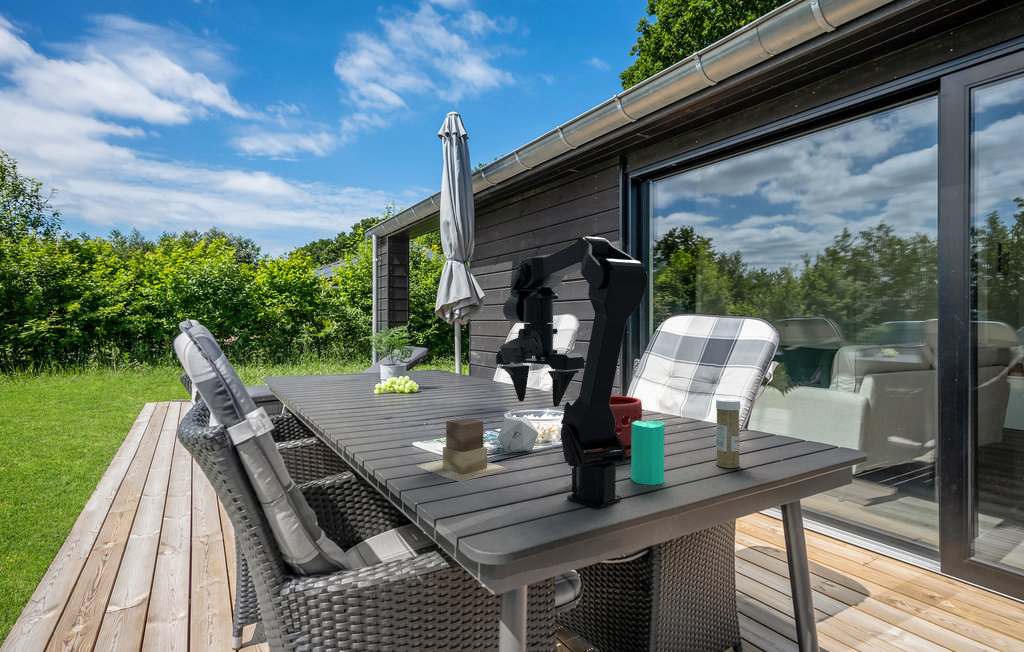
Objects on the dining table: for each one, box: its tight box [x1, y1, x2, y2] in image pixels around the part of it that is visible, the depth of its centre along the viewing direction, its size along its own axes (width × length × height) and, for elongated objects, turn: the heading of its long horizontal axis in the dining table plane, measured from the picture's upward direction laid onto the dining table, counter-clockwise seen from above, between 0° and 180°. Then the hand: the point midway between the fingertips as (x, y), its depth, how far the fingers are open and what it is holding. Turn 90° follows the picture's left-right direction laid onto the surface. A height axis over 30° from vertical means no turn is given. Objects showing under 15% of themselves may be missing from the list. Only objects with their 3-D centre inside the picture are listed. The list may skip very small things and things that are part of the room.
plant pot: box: [589, 395, 643, 458], centre depth 117 cm, size 13×13×12 cm
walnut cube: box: [445, 417, 484, 452], centre depth 101 cm, size 5×5×5 cm
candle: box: [630, 420, 665, 486], centre depth 98 cm, size 6×6×12 cm
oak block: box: [442, 445, 488, 475], centre depth 101 cm, size 6×6×4 cm
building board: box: [415, 458, 510, 483], centre depth 102 cm, size 14×12×1 cm
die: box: [497, 416, 540, 453], centre depth 116 cm, size 8×9×10 cm
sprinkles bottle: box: [715, 397, 741, 469], centre depth 107 cm, size 5×5×13 cm
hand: (538, 403), depth 103 cm, fingers open, 9 cm apart
